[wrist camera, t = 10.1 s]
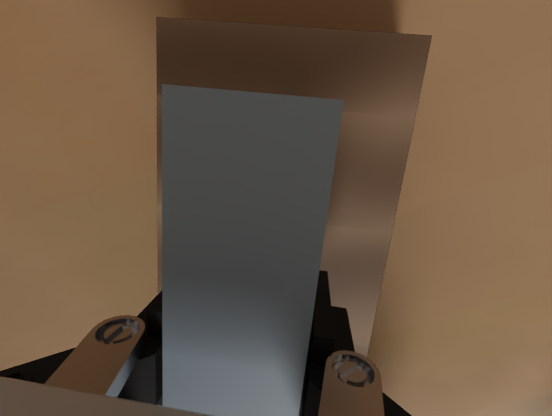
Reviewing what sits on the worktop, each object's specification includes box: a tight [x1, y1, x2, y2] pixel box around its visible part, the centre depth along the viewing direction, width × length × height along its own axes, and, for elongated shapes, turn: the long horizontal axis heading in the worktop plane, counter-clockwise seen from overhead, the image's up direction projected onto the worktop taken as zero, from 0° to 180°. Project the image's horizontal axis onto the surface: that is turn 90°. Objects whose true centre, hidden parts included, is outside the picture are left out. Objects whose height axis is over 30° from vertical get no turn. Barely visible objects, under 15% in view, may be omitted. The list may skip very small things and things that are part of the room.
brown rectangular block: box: [156, 17, 432, 357], centre depth 15 cm, size 20×10×4 cm, turn 175°
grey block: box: [162, 84, 344, 416], centre depth 12 cm, size 14×4×9 cm, turn 175°
